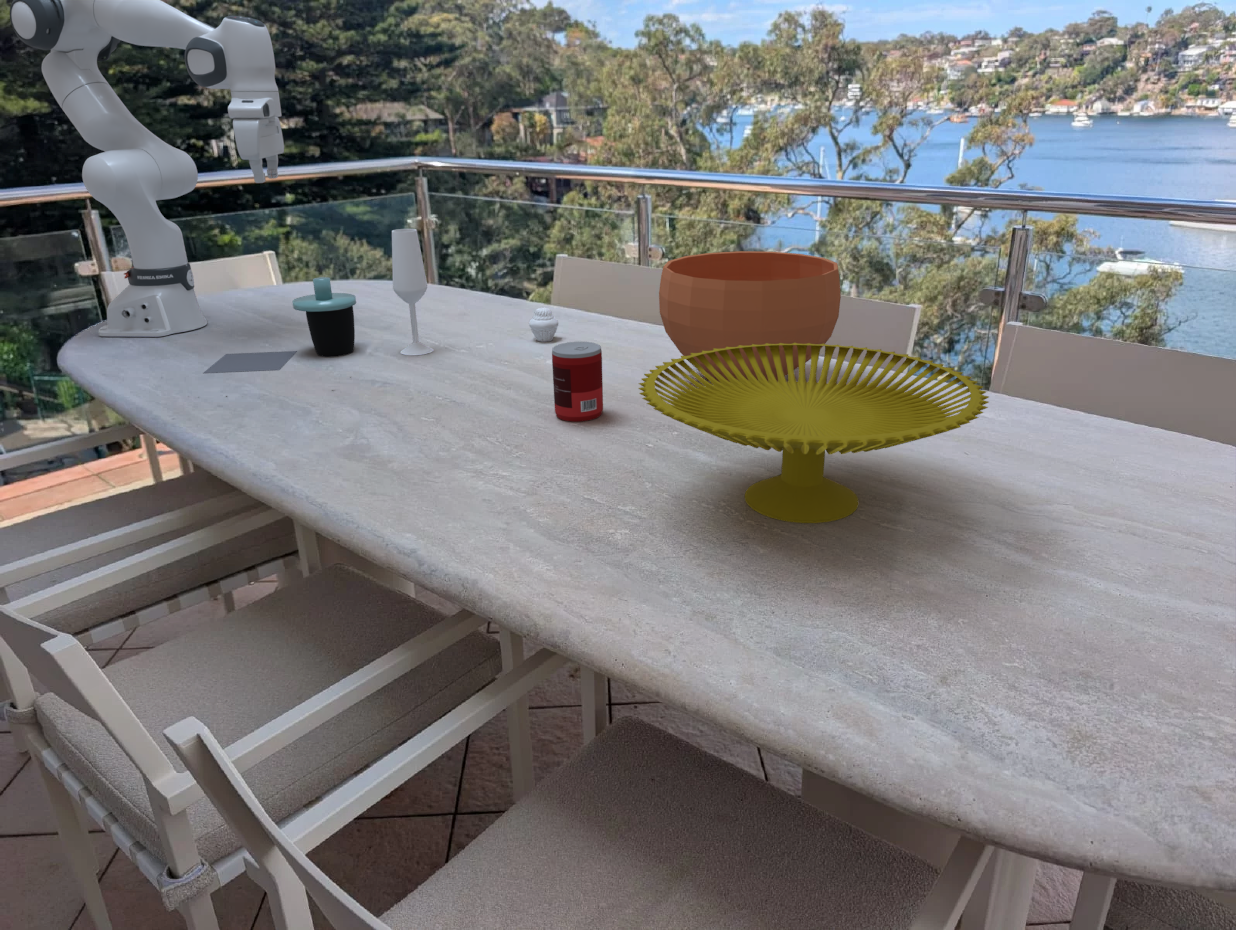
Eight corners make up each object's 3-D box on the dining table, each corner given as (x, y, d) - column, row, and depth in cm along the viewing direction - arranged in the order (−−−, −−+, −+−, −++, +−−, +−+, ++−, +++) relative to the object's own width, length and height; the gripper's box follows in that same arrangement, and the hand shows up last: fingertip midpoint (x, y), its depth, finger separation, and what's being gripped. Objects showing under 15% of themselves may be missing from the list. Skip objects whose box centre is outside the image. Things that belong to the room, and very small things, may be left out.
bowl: (835, 413, 144) (844, 283, 136) (647, 405, 149) (646, 280, 142) (832, 362, 171) (840, 251, 163) (674, 357, 177) (674, 250, 169)
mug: (367, 355, 183) (361, 305, 179) (327, 364, 177) (319, 312, 174) (336, 345, 191) (330, 297, 187) (297, 354, 185) (289, 304, 181)
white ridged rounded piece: (557, 343, 189) (556, 309, 186) (528, 343, 189) (526, 310, 186) (560, 336, 195) (558, 303, 192) (531, 336, 195) (529, 304, 192)
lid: (286, 312, 174) (282, 285, 172) (300, 300, 185) (296, 274, 183) (350, 310, 175) (347, 283, 173) (360, 297, 186) (357, 272, 185)
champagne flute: (437, 346, 188) (426, 227, 179) (428, 355, 182) (415, 232, 173) (406, 346, 189) (393, 228, 180) (395, 355, 183) (381, 232, 174)
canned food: (610, 408, 148) (608, 342, 144) (592, 424, 141) (590, 355, 137) (566, 404, 151) (563, 339, 147) (547, 420, 144) (543, 352, 140)
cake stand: (627, 449, 131) (625, 347, 125) (901, 436, 133) (911, 336, 128) (657, 587, 94) (657, 451, 88) (1038, 567, 96) (1061, 433, 90)
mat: (203, 377, 171) (202, 373, 170) (226, 357, 184) (226, 353, 183) (279, 373, 172) (279, 369, 171) (297, 354, 185) (297, 350, 184)
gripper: (255, 106, 189) (265, 175, 195) (224, 108, 170) (235, 185, 176) (286, 106, 190) (295, 175, 195) (259, 108, 171) (269, 185, 176)
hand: (266, 180), depth 185 cm, fingers open, 8 cm apart
